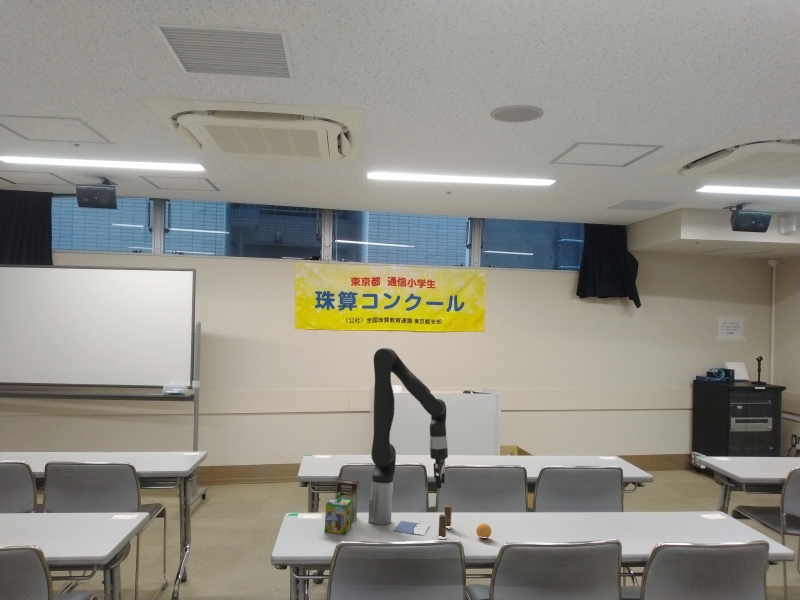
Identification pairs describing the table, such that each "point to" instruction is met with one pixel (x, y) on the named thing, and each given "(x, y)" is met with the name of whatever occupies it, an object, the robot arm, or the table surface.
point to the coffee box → (349, 493)
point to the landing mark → (405, 527)
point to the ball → (483, 530)
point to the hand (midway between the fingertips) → (440, 485)
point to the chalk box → (338, 515)
